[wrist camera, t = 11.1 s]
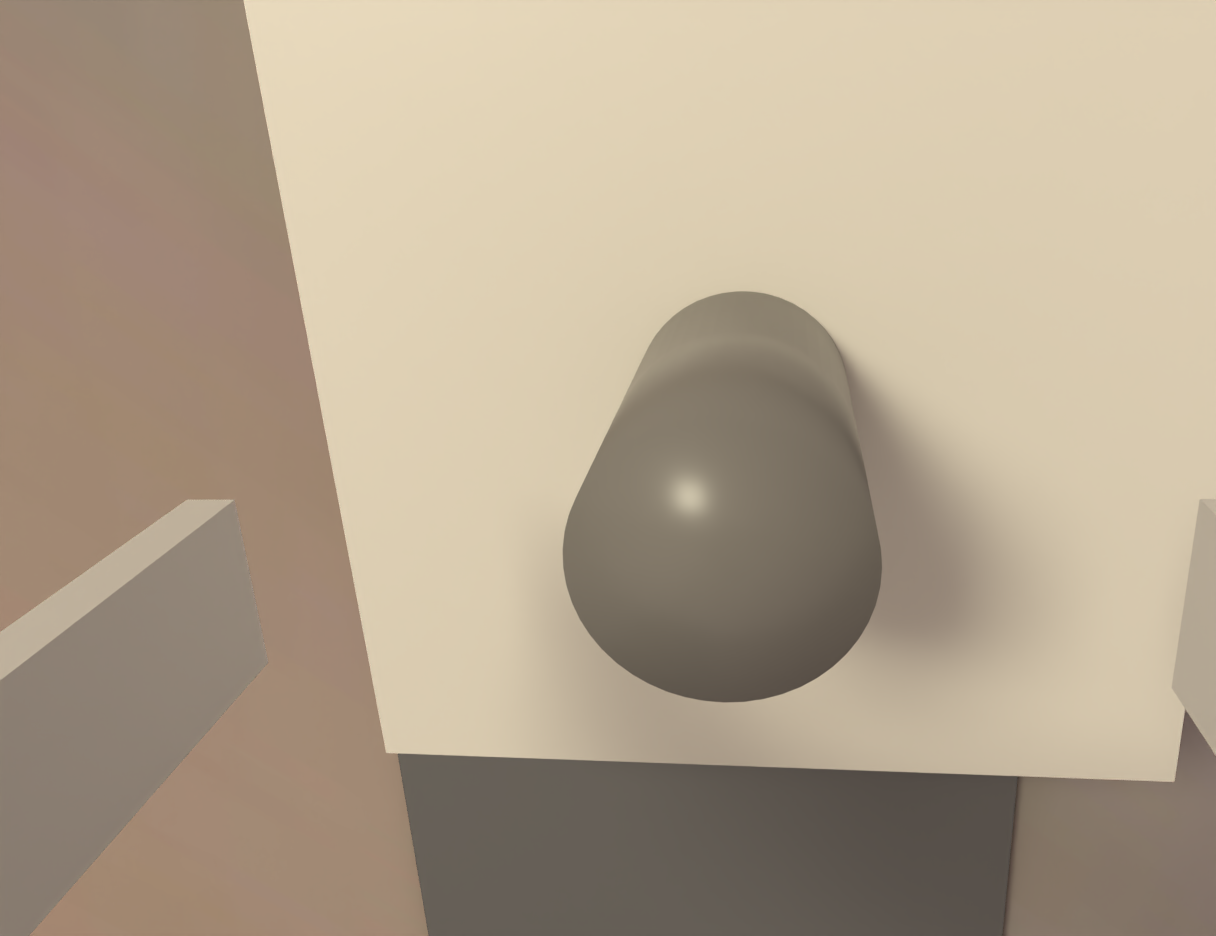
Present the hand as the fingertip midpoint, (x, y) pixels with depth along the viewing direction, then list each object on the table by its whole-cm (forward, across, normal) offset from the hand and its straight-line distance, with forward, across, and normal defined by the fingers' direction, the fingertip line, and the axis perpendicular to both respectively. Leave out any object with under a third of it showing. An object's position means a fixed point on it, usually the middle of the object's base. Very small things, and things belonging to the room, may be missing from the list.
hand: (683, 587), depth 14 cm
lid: (+9, -1, 0) cm, 9 cm away
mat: (+17, +2, +19) cm, 26 cm away
